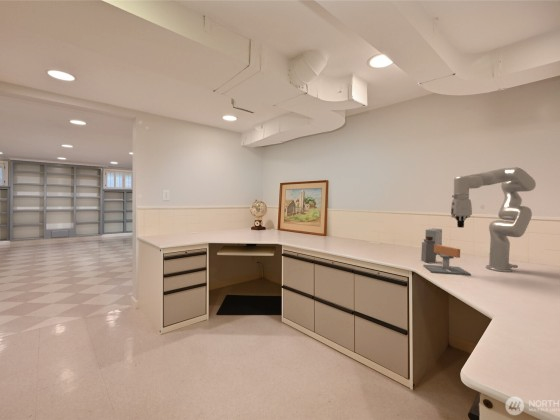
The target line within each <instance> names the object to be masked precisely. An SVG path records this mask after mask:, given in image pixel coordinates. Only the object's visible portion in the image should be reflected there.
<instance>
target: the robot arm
mask: <svg viewBox="0 0 560 420" xmlns="http://www.w3.org/2000/svg"><path fill="white" fill-rule="evenodd" d="M500 183H501V184H500ZM496 184H500V188H501V190H502V192H503V194H504V200H503V202H502V205H501V207H500V209H499V211H498V215H497V216H498V218H499V219H497V220H496V219H495V220H493V221H491V222H489V226H488V231H489V235H490V238H489V239H490V240H489V242H490V246H489V261H488V264H487V265H485V267H486V269H488V270H492V271H495V272H504V273H510V272H513V269H512V268H514V269H518V267H519V265H518V264H513V263H510V250H511V249H510V246H511V243H510V239H509V238H510V237H511V238H512V237H513V238H521V237H522V236H523V235H524V234H525V233H526V231H527V228H528V226H529V224H530V223H531V219H532V215H533V213H532V210H531V208H530V207H528V206H525V205H522V203H523V200H522V196H520V195H519V192H521V193H522V192H523V193H525V192H531V191H534V189H535V188H536V186H537V185H536V184H537V183H536V180H535V179H534V178H533V177H532V176H531V175H530V174H529V173H528V172H527V171H525V169H522V168H521V167H518V166H517V167H507V168H505V167H504V168H499V169H494V170H490V171H483V172H478V173H475V174H474V173H473V174H469V175H464V176H462V175H461V176H455V177H454V179H453V195H452V196H451V198H453V199H452V200H451V201H452V202H451V206H450V207H451V208H450V214H451V218H453V219H455V220H456V221H457V222H456V223H457V226H456V227H457V228H464V227H465V221H466V220H467V219H469V218H470V217H471V216H472V215H473V207H472V206H473V205H472V201H471V199H470V189H471V190H472V189H479V188H481V187H483V186H484V187H485V186H493V185H496ZM500 219H501V220H500ZM508 237H509V238H508Z"/></svg>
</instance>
